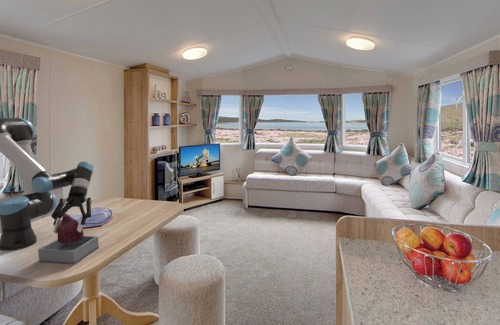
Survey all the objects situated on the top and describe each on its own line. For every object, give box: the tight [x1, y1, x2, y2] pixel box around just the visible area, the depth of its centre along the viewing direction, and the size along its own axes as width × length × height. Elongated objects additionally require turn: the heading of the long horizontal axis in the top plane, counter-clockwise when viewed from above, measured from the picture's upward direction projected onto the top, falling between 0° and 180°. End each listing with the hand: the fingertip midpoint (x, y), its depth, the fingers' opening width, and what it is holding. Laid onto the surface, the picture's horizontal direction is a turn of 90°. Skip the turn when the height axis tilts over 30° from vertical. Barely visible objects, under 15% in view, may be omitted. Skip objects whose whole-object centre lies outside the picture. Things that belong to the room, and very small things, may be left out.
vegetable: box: [56, 213, 85, 244], centre depth 133 cm, size 10×10×15 cm
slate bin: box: [37, 235, 100, 266], centre depth 136 cm, size 17×17×6 cm
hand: (67, 231), depth 131 cm, fingers closed on vegetable, 9 cm apart
